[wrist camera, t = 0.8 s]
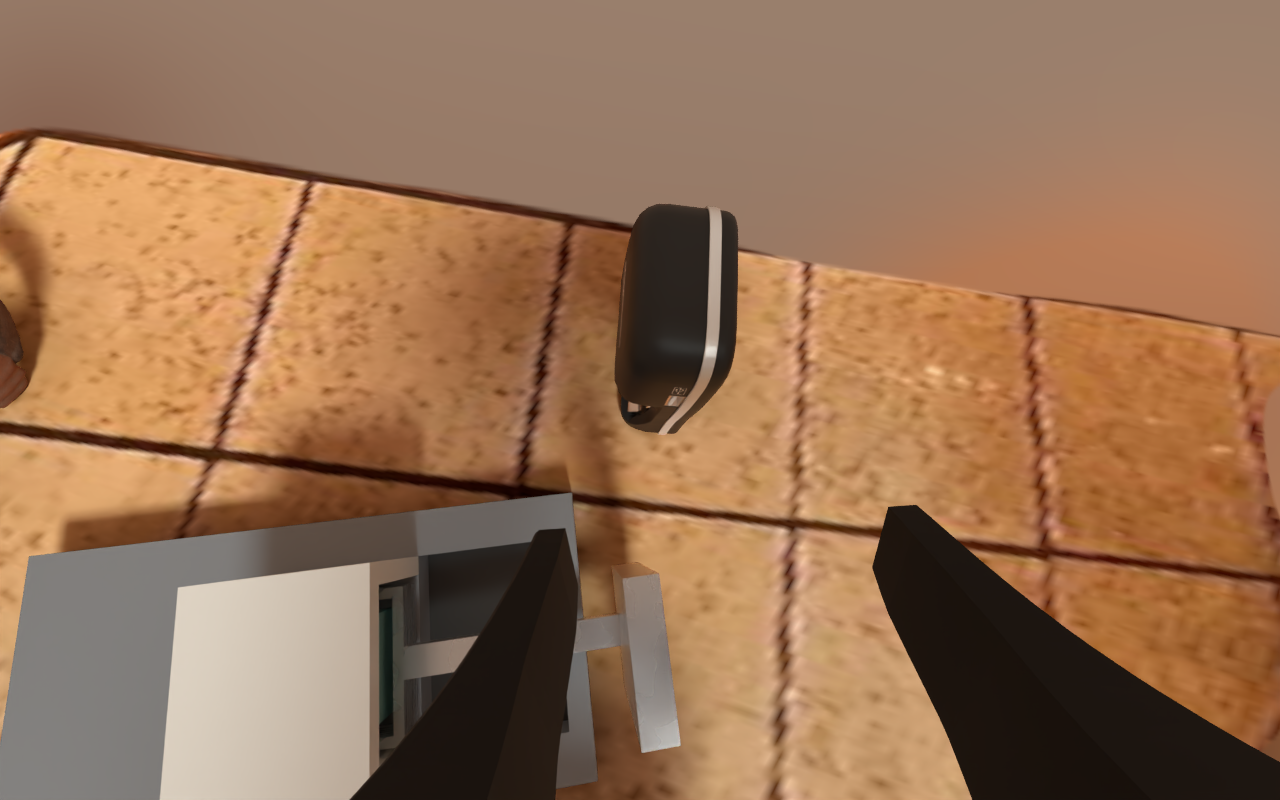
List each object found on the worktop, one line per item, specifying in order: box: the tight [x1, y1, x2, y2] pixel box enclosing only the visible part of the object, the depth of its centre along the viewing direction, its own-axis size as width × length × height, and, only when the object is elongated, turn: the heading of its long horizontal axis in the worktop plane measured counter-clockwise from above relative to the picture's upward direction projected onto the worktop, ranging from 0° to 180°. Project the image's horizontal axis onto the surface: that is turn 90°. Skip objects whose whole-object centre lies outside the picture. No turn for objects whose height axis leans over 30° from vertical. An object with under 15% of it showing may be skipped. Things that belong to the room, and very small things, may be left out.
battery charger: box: [615, 204, 738, 435], centre depth 22 cm, size 7×4×11 cm, turn 177°
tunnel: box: [160, 556, 419, 800], centre depth 19 cm, size 8×6×5 cm
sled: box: [379, 562, 681, 753], centre depth 19 cm, size 6×16×7 cm, turn 97°
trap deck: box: [0, 493, 598, 800], centre depth 22 cm, size 12×22×2 cm, turn 97°
